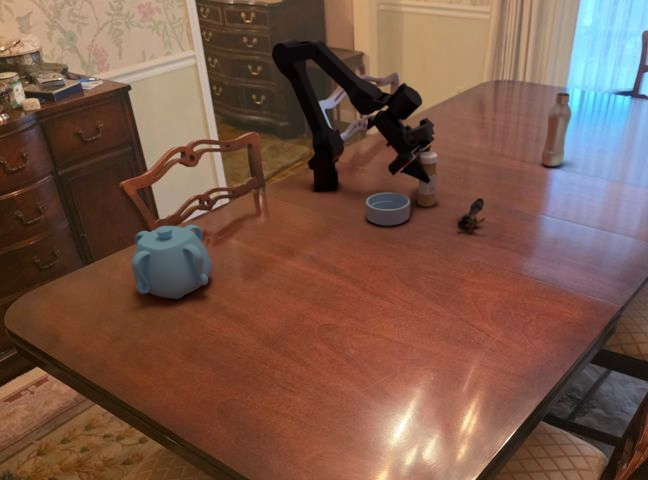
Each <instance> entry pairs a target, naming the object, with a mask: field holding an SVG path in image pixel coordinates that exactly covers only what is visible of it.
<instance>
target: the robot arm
mask: <svg viewBox="0 0 648 480" xmlns="http://www.w3.org/2000/svg"><path fill="white" fill-rule="evenodd" d="M271 58H272V60H273V63H274V64H275V66H276V67H277V69H278V71H279V72H280V74H282V76H284V77H285V78H286V79H287V80H288V81H289V83H290V85H291V88H292V90H293V92H294V95H295V97H296V99H297V102H298V104H299V106H300V108H301V110H302V113H303V116H304V118H305V120H306V123H307V124H308V127H309V129H310V131H311V136H312V137H311V139H312V140H311V145H312V149H313V153H314V154H313V156H312V157H310V159H309V160H307V163H306V164H307V166H308V168H309V170H311V171H313V172H312V173H313V174H312V175H313V192H326V191H337V190H338V186H339V171H338V168H336V163H339V161H340V157H342V156H343V154H344V151H345V146H344V144H345V141H344V139H343V138H342V136H341V132H340V129H338V128H337V129H335V130H334V129H332V127H331V126H330V125H329V124H328V121H327V119H326V116H325V114H324V112H323V108H322V107H321V104H320V102H319V100H318V97H317V94H316V92H315V90H314V88H313V85H312V83H311V80H310V78H309V75H308V72H307V61H310V60H312V61H313V62H314V63H315V64H316V65H317V66H318V67H319V68H320V69H321V70H322V71H323V72H324V73H325V74H326V75H327V76H329V77H330V78H331V80H333V81H334V82H335V83H336V84H337V85H338V86H339V87H340V88H341V89H342V91H344V93H345V94H346V95H347V97H348V99H349V102H350V104H351V105H352V107H354V109H355V110H356V112H357V113H358V114H360V115H361V116H369V117H367V118H366V119H367V121H366V122H367V124H366V130H367V131H370V130H371V129H372V128H374V127H375V128H376V129H377V131H378V132H379V133H380V134H381V136H382V137H383V138H384V139H385V141H386V143H385V146H386V147H387V148H390V147H391V148H392V149H393V151H394V152H395V153H396V154H397V155H396V156H395V158H394V159H393V160H392V161H391V162H390V163H389V164H388V171H389V173H390V174H391V175H392V176H395V175H396V174H397V173H398V172H399V173H400V174H405V175H407V176H410V177H412V178H414V179H417V180H418V181H419V180H421V181H423V182H425V183H427V184H428V183H429V182H430V181H431V180H430V178H429V177H428V175H427V173H426V172H425V170H424V169H423V167H422V166H421V164H420V154H421V153H423V152H431V148H432V142H434V141H435V138H434V137H435V136H434V135H435V134H436V133H435V131H434V127H435V124H434V123H433V122H432V120H430V119H429V117H424V118H422V119H421V120H420V121H419V123H418V124H419V125H417V126H415V127H413V128H412V126H410V125H408V124H406V125H405V124H404V123H403V122H402V121H406V120H408V118H409V117H410V116H412V114H414V113H415V112H416V111H417V110H418V109H419V108H420V107H421V106H422V104H423V99H422V96H421V95H420V93H419V92H418V91H417V90H416V89H414V87H412V86H409V85H408V84H406V82H403V83H401V84H400V85H399V86H398V87H397V88H396V90H395V91H394V92H393V93H390V92H385V91H383V90H382V89H381V88H380V87H378V86H377V85H375V84H374V83H372V82H370V81H369V80H367V79H364V78H361V77H360V76H358V75H357V74H356V73H355V72H354V71H353V70H352V69H351V68H350V67H349V66H348V65H347V64H346V63H345V62H343V60H342V59H340V58H339V57H338V56H337V55H336V54H335V52H333V51H332V50H331V49H330V48H329V47H328V46H327V45H326V43H325V42H324V41H323V40H321V39H315V40H301V41H300V40H298V39H296V38H288V39H285V40H282V41H281V42H277V43H276V44H274V46H273V48H272V52H271ZM385 107H387V108H386V109H385V110H384V108H385ZM375 112H376V114H375V115H374V116H370V115H372V114H373V113H375ZM436 176H438V174H437V172H436Z"/></svg>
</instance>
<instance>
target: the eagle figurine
mask: <svg viewBox="0 0 648 480" xmlns="http://www.w3.org/2000/svg"><path fill="white" fill-rule="evenodd" d="M484 204H485V203H484V199H483V198H482V197H479V198H477V199H475V201H473V202H472V203H471V204H470V207H469V211H468V213H467V212H464V213H462V214H460V215H459V216H458V217H457V218H456V221H457V222H458V223H461V222H462V221H464V222H465V223H466V224H465V225H464V226H465V227H467V228H468V231H467V234H468V235H469V234H470V233H471V231H473V230H474V228H475V227H478V228H480V224H481V223H482V222H484V221H485V220H486V217H483V218H481V219H479V220H478V219H477V215H478V214H479V212H481V211H482V210H483V208H484Z"/></svg>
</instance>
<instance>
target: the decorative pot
mask: <svg viewBox="0 0 648 480" xmlns="http://www.w3.org/2000/svg"><path fill="white" fill-rule="evenodd" d="M203 235H204V234H203V230H202V229H201V227H200V226H198V225H195V224H188V225H186V226H184V227H181V226H177V225H176V226H175V225H161V226H158V227H157V228H156V229H153V230H152V231H147V230H141V231H139V232H138V233H136V235H135V236H134V242H135V245H136V247H135V251H134V255H133V257H132V258H131V270H132V272H133V278H134V281H135V283H136V286H135V289H136V291H137V293H139V294H141V295H145V294H148V293H149V294H152V295H153V296H156V297H159V298H166V299H173V300H179V299H181V298H183V297H184V295H187V294H189V293H191V292H194V291H196V290H197V289H199V288H200V287H201V286H206V285H207V284H208V283H209V277H210V275H211V274H212V270H213V261H212V259H211V256H210V254H209V252H208V249H207V248H206V247H205V245H204V243H203V241H204V237H203Z"/></svg>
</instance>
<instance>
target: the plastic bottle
mask: <svg viewBox="0 0 648 480" xmlns="http://www.w3.org/2000/svg"><path fill="white" fill-rule="evenodd" d="M570 96H571V95H570V93H568V92H558V93H556V96H555V99H554V104H553V105H552V107H551V108H550V109H549V112H548V115H547V133H546V138H545V143H544V148H543V149H542V153H541V162H542V164H543V165H545V166H547V167H558V166H560V165H561V164H562V163H563V161H564V160H565V159H564V158H565V143H566V136H567V132H568V128H569V126H570V125H569V124H570V121H571V117H572V109H571V107H570V105H569V102H570V98H571V97H570Z"/></svg>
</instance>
